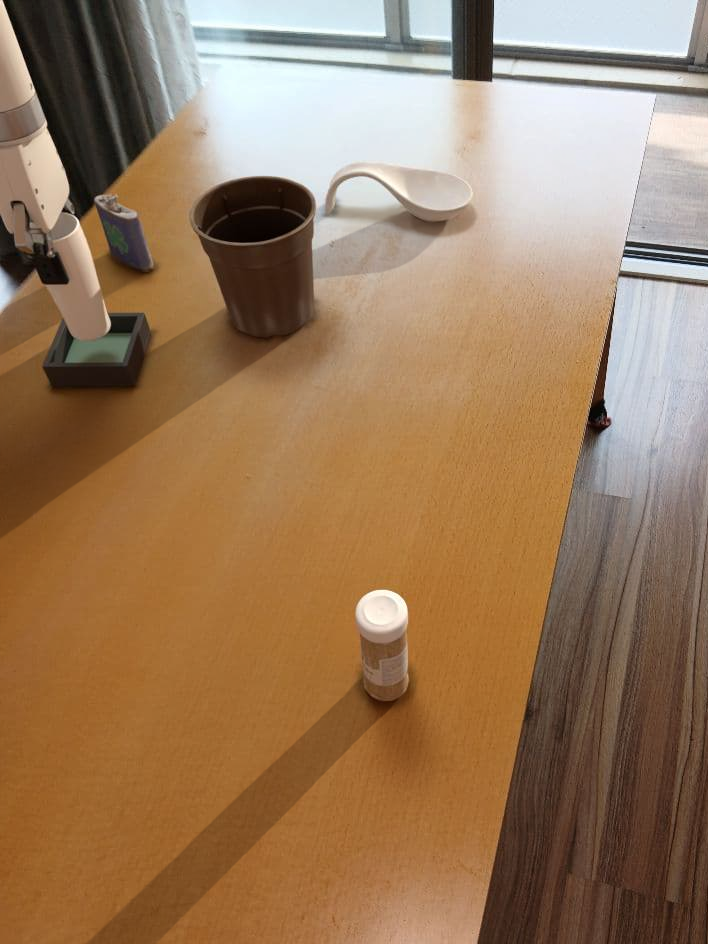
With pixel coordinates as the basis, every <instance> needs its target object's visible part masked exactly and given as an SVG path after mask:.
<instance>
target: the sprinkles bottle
mask: <svg viewBox="0 0 708 944" xmlns="http://www.w3.org/2000/svg"><path fill="white" fill-rule="evenodd" d="M354 613H355V625H356V628H357V630H358V633H359V638H360V639H359V640H360V642H359V643H360V644H359V645H360V653H361V663H362V671H363V679H362V681H363V687H364V689H365V691H366V692H367V694H368V695H369V696H371V697H372V698H373V699H375V700H376V701H381V702H392V701H395V700H397V699H399V698H401V697H402V696H403V695H404V694H405V692H407V689H408V688H409V687H408V686H409V684H410V683H409V682H410V678H409V672H408V668H409V656H408V655H409V654H408V649H409V648H408V635H407V627H408V624H409V611H408V606H407V603H406V602H405V600H404V598H403V597H402V596H400V594H398V593H396V592H394V591H391V590H388V589H377V590H372V591H370V592H368V593H366V594H364V596H362V597H361V599H360V600H359V601H358V603H357V604H356V607H355V612H354Z"/></svg>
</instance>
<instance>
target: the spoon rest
mask: <svg viewBox="0 0 708 944" xmlns="http://www.w3.org/2000/svg"><path fill="white" fill-rule="evenodd" d="M358 177H365V178H369V179H372V180H374V181H376V182H377V183H379V184H381V186H383V187H384V188H385V189H386V190H387V191H388V192H390V194H391V195H392V196H393V197H394V198H395V199H396V200H397V202H398V203H400V205H401V206H402V207H403V208H404V209H405V210H406V211H407V212H409V214H411V215H412V216H414V217H416V218H418V219H419V220H422V221H424V222H427V223H428V222H429V223H438V222H442V221H448V220H450V219H453V218H455V217H457V216H458V215H460V214H461V213H463V212H464V211H465V210H466V209H467V208H468V207H469V205H470V204H471V202H472V201H473V196H474V193H473V189H472V187H471V185H470V184H469V183H468V182H467V181H465V180H464V179H463V178H461V177H459V176H457V175H454V174H451V173H448V172H445V171H439V170H433V169H424V168H417V167H410V166H403V165H397V164H390V163H384V162H378V161H358V162H352V163H350V164H347V165H345V166H343V167H342V168H340V169H338V170H337V171H336V172H335V174H334V175H333V176H332V178H331V180H330V183H329V187H328V189H327V192H326V195H325V204H324V210H325V211H324V212H325V213H327V214H329V213H331V212H332V211H333V210H334V208H335V204H336V200H337V191H338V188H339V187H340V185H341V184H342V183H344V182H345V181H346V182H347V181H348V180H350V179H353V178H358Z"/></svg>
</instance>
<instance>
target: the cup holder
mask: <svg viewBox="0 0 708 944" xmlns="http://www.w3.org/2000/svg"><path fill="white" fill-rule="evenodd" d="M107 313H108V316H109V318H110V321H111V327H110V330H109V331H108V333H107V334H106V335H104V336H103V337H101V338H99V339H97V340H93V341H80V340H77V339H76V338H74V337H73V336H72V335H71V334H70V332H69V329H68V327H67V325H66V323H65V321H64V319H63V317H62V319H61V321H60V323H59V326H58V328H57V331H56V333H55V335H54V337H53V341H52V343H51V344H50V347H49V349H48V352H47V354H46V357H45V358H44V361H43V364H42V366H41V367H42V370H43V372H44V373H45V376H46V378H47V380H48V382H49V385H50V387H51V388H91V387H92V388H93V387H96V388H101V387H102V388H104V387H105V388H108V387H109V388H110V387H111V388H112V387H114V388H115V387H117V388H118V387H122V388H123V387H125V388H126V387H135V386H136V383H137V380H138V376H139V374H140V371H141V367H142V364H143V361H144V358H145V355H146V354H145V353H146V351H147V347H148V344H149V341H150V338H151V335H152V331H151V329H150V325H149V321H148V319H147V317H146V313H145V312H107Z"/></svg>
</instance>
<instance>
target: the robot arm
mask: <svg viewBox="0 0 708 944" xmlns="http://www.w3.org/2000/svg"><path fill="white" fill-rule="evenodd" d="M7 11H8V10H7V9H6V6H5V3H4V0H0V217H1V219H2V222H3V224H4V226H5V228H6V230H7V232H9V234H11V235H13V237H14V239H13V240H14V246H15V248H16V249H18V250H20V251H21V252H23V254H24V255H27V258H29V259H31V262H32V263H33V266H34V268H35V270H36V273H37V275H38V278H39V280H40V282H41V283H42V284H43V285H44V286H45V285H67V284H68V283H69V277H68V275H67V272H66V270H65V267H64V265H63V262H62V260H61V257H60V255H59V252H54V247H53V241H52V236H51V231H50V230H51V229H52V228H53V227H54V225H55V223H56V221H57V219H58V217H59V215H60V213H61V212H64V213H69V214H72V215H73V216H75V217H76V215H74V214H75V206H74V204H73V203H72V202H71V200H70V192H71V191H70V184H69V180H68V176H67V173H66V168H65V167H64V166H63V163H62V161H61V157H60V155H59V153H58V150H57V148H56V146H55V143H54V141H53V139H52V136H51V134H50V132H49V130H48V128H47V127H48V122H47V119H46V116H45V113H44V110H43V107H42V105H41V102H40V100H39V97H38V94H37V92H36V89H35V86H34V84H33V81H32V77H31V76H30V72H29V70H28V67H27V64H26V61H25V59H24V56H23V53H22V50H21V47H20V44H19V42H18V39H17V35H16V34H15V30H14V28H13V25H12V21H11V20H10V17H9V14H8V12H7ZM76 218H77V217H76ZM32 222H35V224H36V225H40V227H41V228H30V223H32ZM32 234H42V236H43V241H44V245H42V244H40V243H35V242H34V241H33V237H32Z"/></svg>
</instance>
